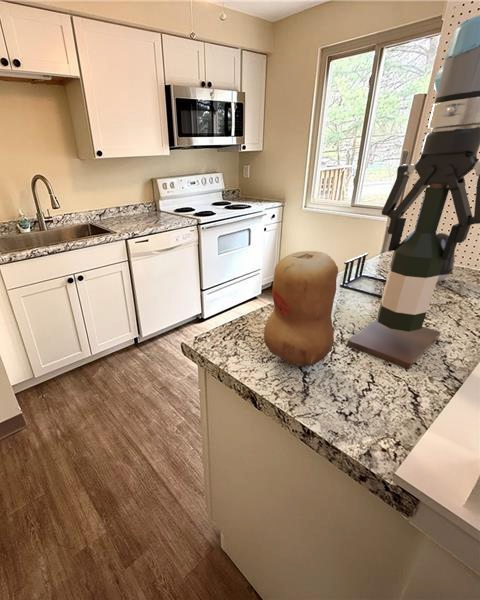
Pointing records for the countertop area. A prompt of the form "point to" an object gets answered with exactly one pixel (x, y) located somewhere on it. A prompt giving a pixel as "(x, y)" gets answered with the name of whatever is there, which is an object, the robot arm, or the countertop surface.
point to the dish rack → (358, 276)
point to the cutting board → (394, 343)
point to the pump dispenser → (447, 264)
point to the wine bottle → (415, 268)
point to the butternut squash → (302, 308)
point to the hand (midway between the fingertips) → (418, 253)
